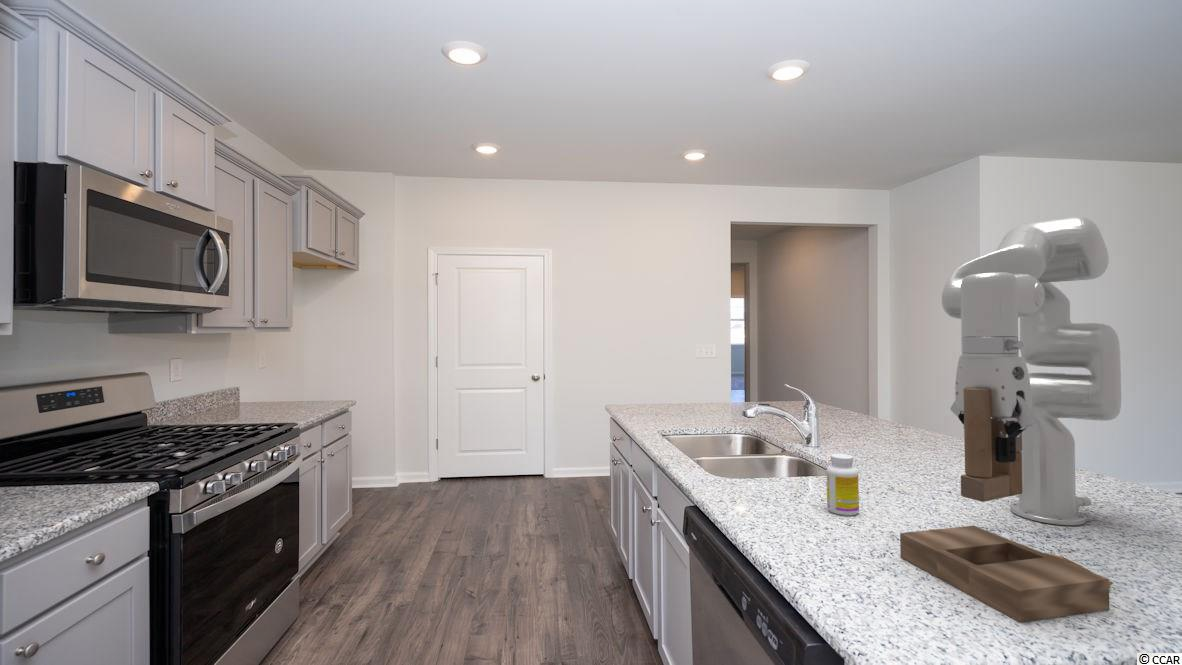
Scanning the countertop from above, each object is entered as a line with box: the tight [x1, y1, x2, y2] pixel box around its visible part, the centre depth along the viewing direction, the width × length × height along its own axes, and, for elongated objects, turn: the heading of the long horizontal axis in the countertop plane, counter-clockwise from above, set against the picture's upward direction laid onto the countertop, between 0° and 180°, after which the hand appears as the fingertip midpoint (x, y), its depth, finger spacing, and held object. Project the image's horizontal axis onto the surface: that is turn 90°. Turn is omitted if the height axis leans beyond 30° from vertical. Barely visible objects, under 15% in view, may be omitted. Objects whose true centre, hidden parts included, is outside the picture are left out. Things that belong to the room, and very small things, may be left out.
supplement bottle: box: [825, 453, 860, 517], centre depth 120 cm, size 7×7×13 cm
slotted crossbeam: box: [899, 525, 1111, 623], centre depth 86 cm, size 16×22×4 cm
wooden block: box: [960, 387, 1022, 503], centre depth 86 cm, size 4×11×18 cm, turn 114°
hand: (991, 456), depth 86 cm, fingers closed on wooden block, 4 cm apart
